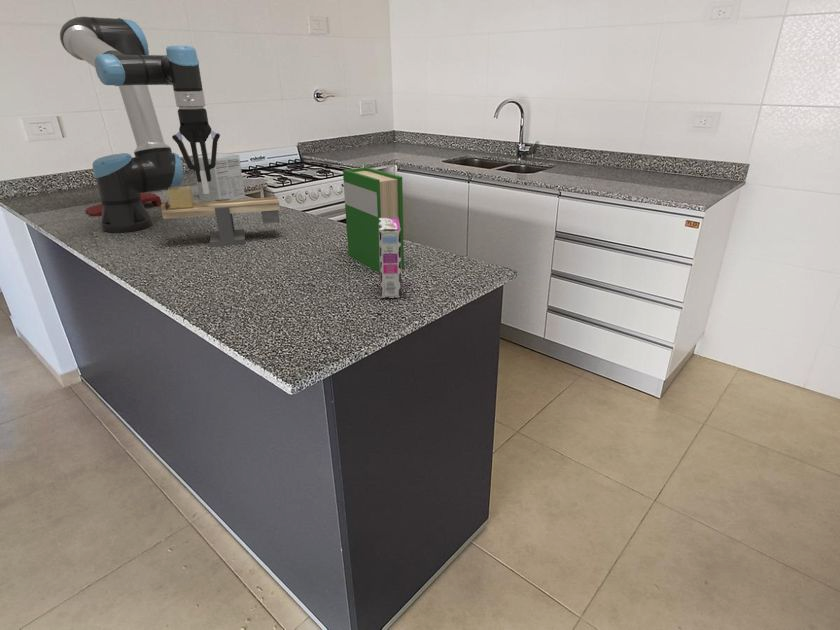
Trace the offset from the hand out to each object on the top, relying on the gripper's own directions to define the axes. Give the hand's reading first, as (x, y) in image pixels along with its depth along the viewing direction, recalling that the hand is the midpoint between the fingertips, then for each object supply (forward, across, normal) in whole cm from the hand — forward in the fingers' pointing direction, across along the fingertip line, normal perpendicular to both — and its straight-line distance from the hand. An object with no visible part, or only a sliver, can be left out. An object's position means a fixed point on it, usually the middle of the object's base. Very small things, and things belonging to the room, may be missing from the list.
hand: (206, 192), depth 155 cm
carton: (+15, -36, +56) cm, 69 cm away
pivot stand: (+15, +4, 0) cm, 15 cm away
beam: (+10, +4, 0) cm, 11 cm away
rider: (+4, -7, 0) cm, 8 cm away
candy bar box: (+16, +42, -55) cm, 71 cm away
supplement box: (+15, 0, +64) cm, 65 cm away
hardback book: (+16, +43, -34) cm, 57 cm away
